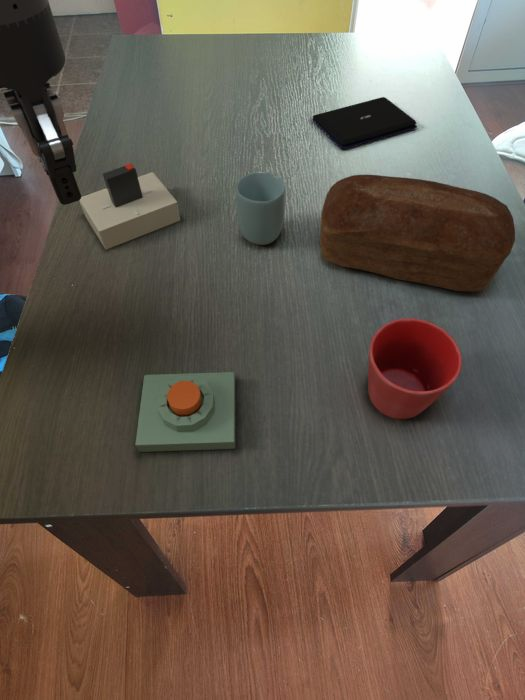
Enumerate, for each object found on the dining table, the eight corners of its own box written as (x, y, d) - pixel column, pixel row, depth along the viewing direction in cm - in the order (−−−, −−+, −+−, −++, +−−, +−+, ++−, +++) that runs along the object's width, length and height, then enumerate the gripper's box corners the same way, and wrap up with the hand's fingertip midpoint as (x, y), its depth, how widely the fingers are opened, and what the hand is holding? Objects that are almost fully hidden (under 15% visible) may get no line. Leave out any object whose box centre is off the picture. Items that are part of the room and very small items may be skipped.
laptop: (306, 113, 102) (307, 104, 101) (389, 99, 106) (391, 90, 104) (332, 153, 94) (334, 144, 92) (422, 137, 97) (425, 128, 95)
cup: (274, 256, 77) (276, 207, 69) (231, 245, 79) (227, 195, 71) (289, 226, 81) (292, 177, 73) (248, 216, 83) (246, 166, 75)
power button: (168, 416, 57) (165, 409, 55) (170, 387, 59) (168, 380, 57) (201, 415, 57) (199, 408, 55) (202, 386, 59) (200, 379, 57)
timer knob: (115, 207, 78) (106, 178, 73) (111, 201, 79) (101, 172, 74) (143, 197, 80) (135, 167, 75) (138, 191, 81) (130, 162, 76)
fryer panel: (105, 249, 78) (98, 230, 75) (85, 216, 83) (77, 197, 80) (180, 220, 82) (177, 201, 79) (157, 190, 87) (152, 171, 84)
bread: (489, 307, 71) (526, 247, 61) (309, 269, 76) (317, 207, 65) (491, 247, 78) (525, 184, 68) (328, 215, 83) (337, 152, 73)
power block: (139, 452, 58) (131, 439, 54) (147, 382, 63) (141, 367, 60) (235, 449, 58) (233, 435, 55) (235, 380, 64) (233, 364, 60)
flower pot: (339, 386, 63) (350, 345, 55) (397, 348, 67) (415, 304, 59) (394, 446, 58) (415, 410, 50) (454, 401, 62) (482, 361, 54)
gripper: (71, 23, 32) (127, 223, 46) (23, -35, 39) (85, 156, 53) (-44, 46, 30) (52, 249, 44) (-75, -20, 36) (17, 175, 50)
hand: (69, 198), depth 48 cm, fingers closed
